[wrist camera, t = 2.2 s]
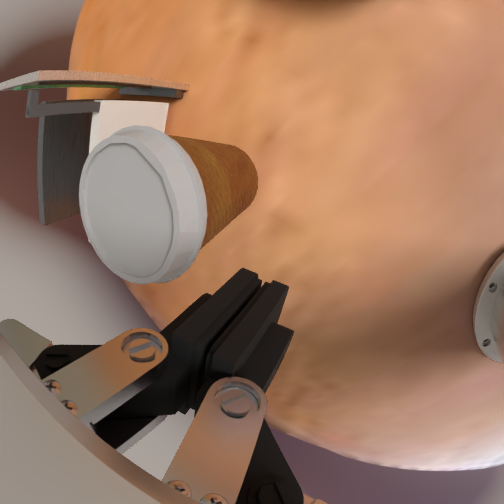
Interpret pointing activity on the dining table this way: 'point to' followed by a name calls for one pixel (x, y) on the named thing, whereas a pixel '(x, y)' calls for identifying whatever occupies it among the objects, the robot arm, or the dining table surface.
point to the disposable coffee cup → (160, 200)
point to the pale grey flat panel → (104, 114)
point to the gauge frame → (75, 132)
